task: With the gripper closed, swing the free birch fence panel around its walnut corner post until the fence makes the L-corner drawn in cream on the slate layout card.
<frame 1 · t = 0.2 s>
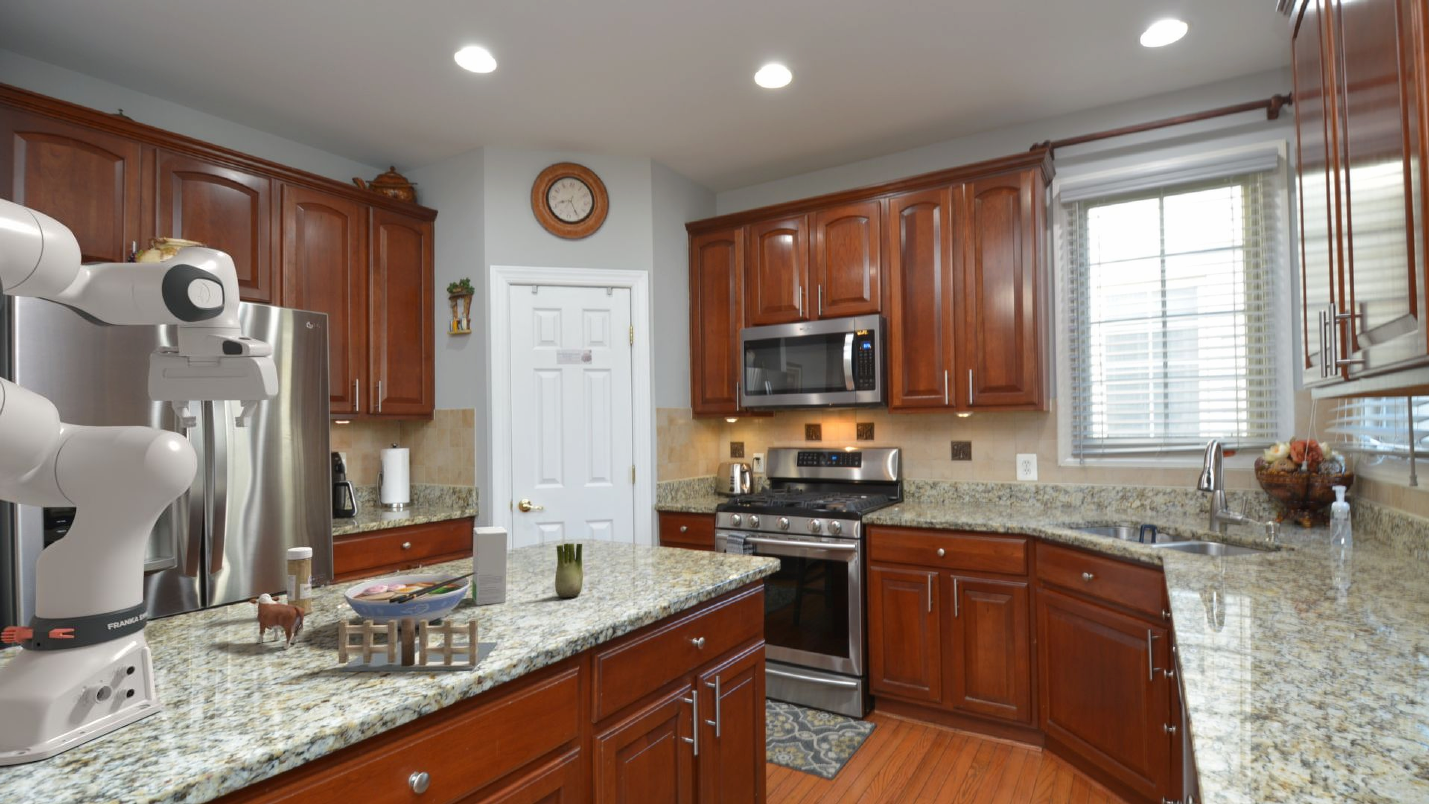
hand: (216, 427, 121), 39 cm above the worktop, tool pointing down, fingers open, 8 cm apart
ramen bowl: (409, 625, 137), on the worktop
spice jar: (299, 615, 145), on the worktop
bull figurine: (276, 644, 126), on the worktop
skincare box: (489, 600, 156), on the worktop
fennel bulb: (569, 597, 158), on the worktop
fixed fence panel: (448, 665, 114), resting on layout card
gate panel: (368, 641, 114), point 4 cm above the worktop, hinge at 0.0°
layout card: (422, 656, 118), on the worktop
corner post: (408, 666, 114), resting on layout card
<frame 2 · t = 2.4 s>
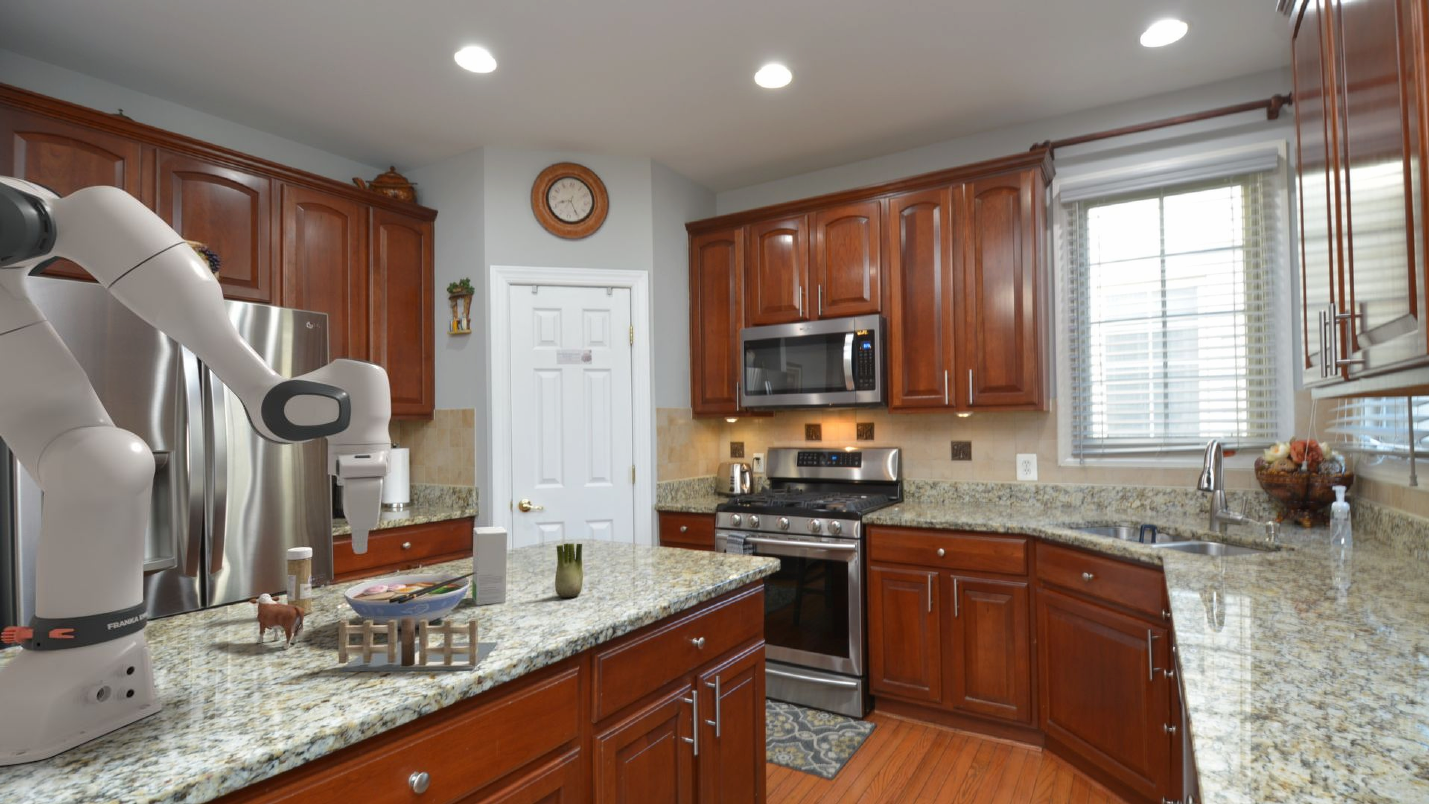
hand: (359, 551, 111), 19 cm above the worktop, tool pointing down, fingers closed
nothing on the worktop moved.
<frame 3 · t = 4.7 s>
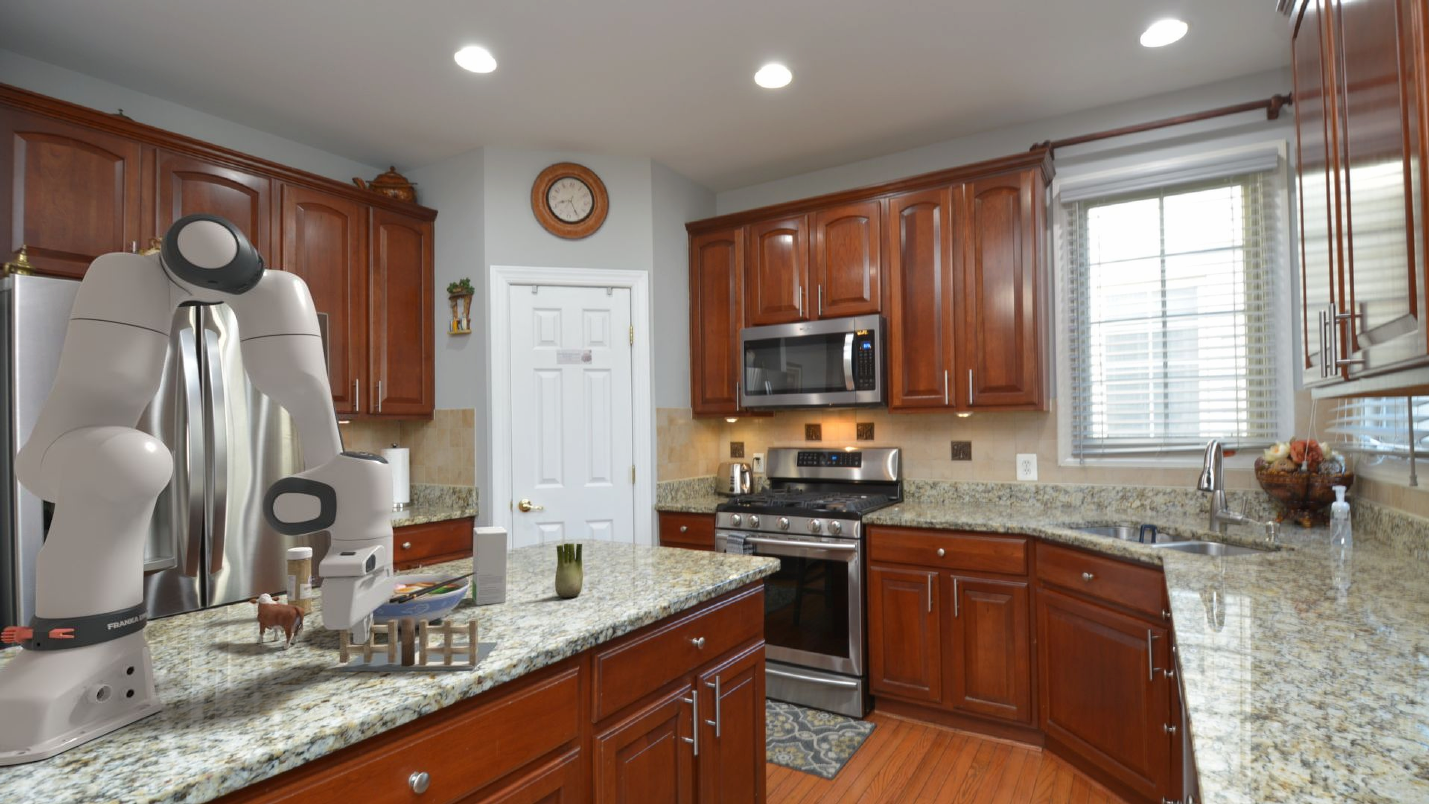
hand: (361, 642, 112), 5 cm above the worktop, tool pointing down, fingers closed
gate panel: (368, 641, 114), point 4 cm above the worktop, hinge at -1.8°, touching gripper
everything else where it was.
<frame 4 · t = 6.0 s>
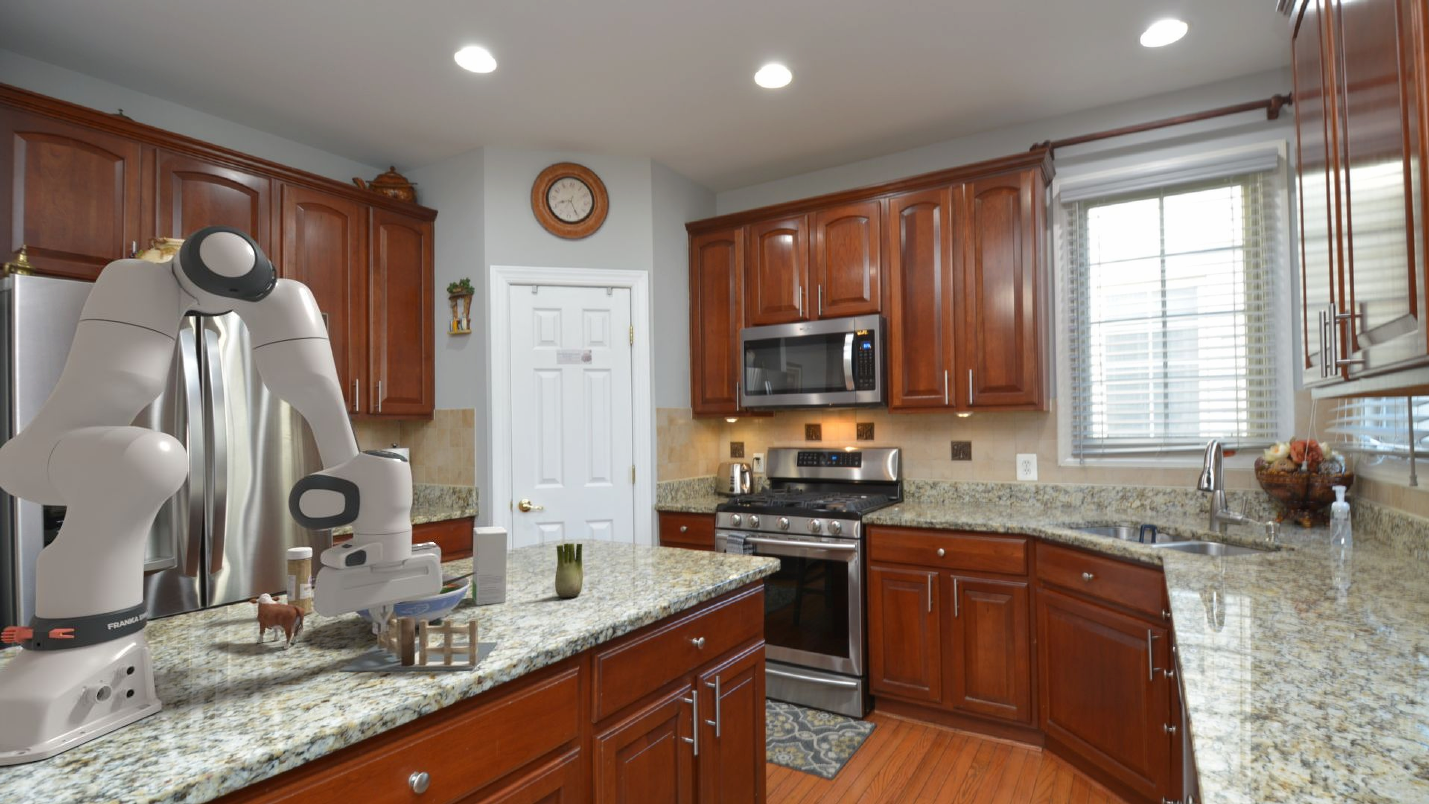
hand: (381, 632, 117), 4 cm above the worktop, tool pointing down, fingers closed, pressing on gate panel
gate panel: (391, 633, 118), point 4 cm above the worktop, hinge at -43.6°, touching gripper
everything else where it was.
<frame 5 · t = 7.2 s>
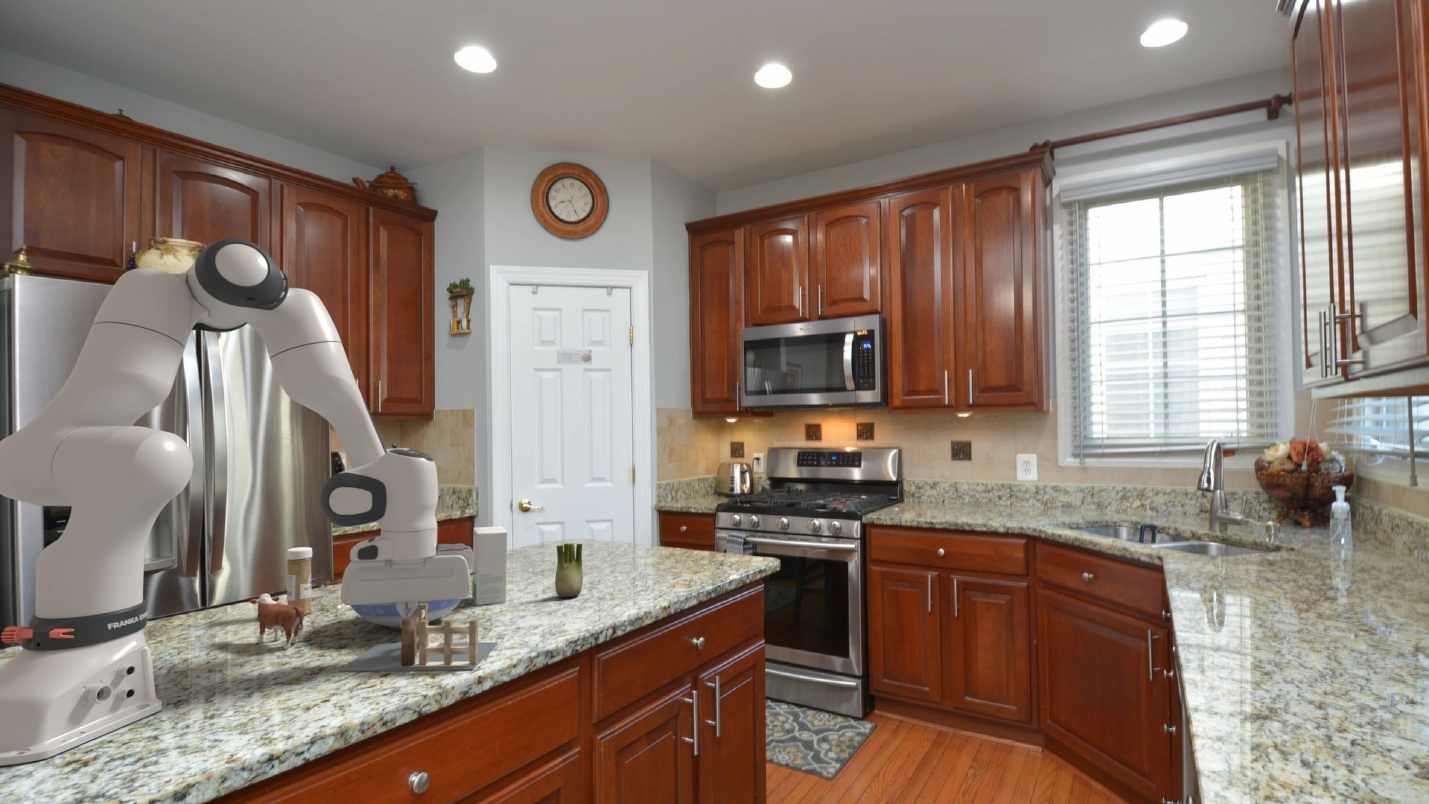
hand: (407, 627, 120), 4 cm above the worktop, tool pointing down, fingers closed, pressing on gate panel
gate panel: (417, 629, 120), point 4 cm above the worktop, hinge at -80.2°, touching gripper
everything else where it was.
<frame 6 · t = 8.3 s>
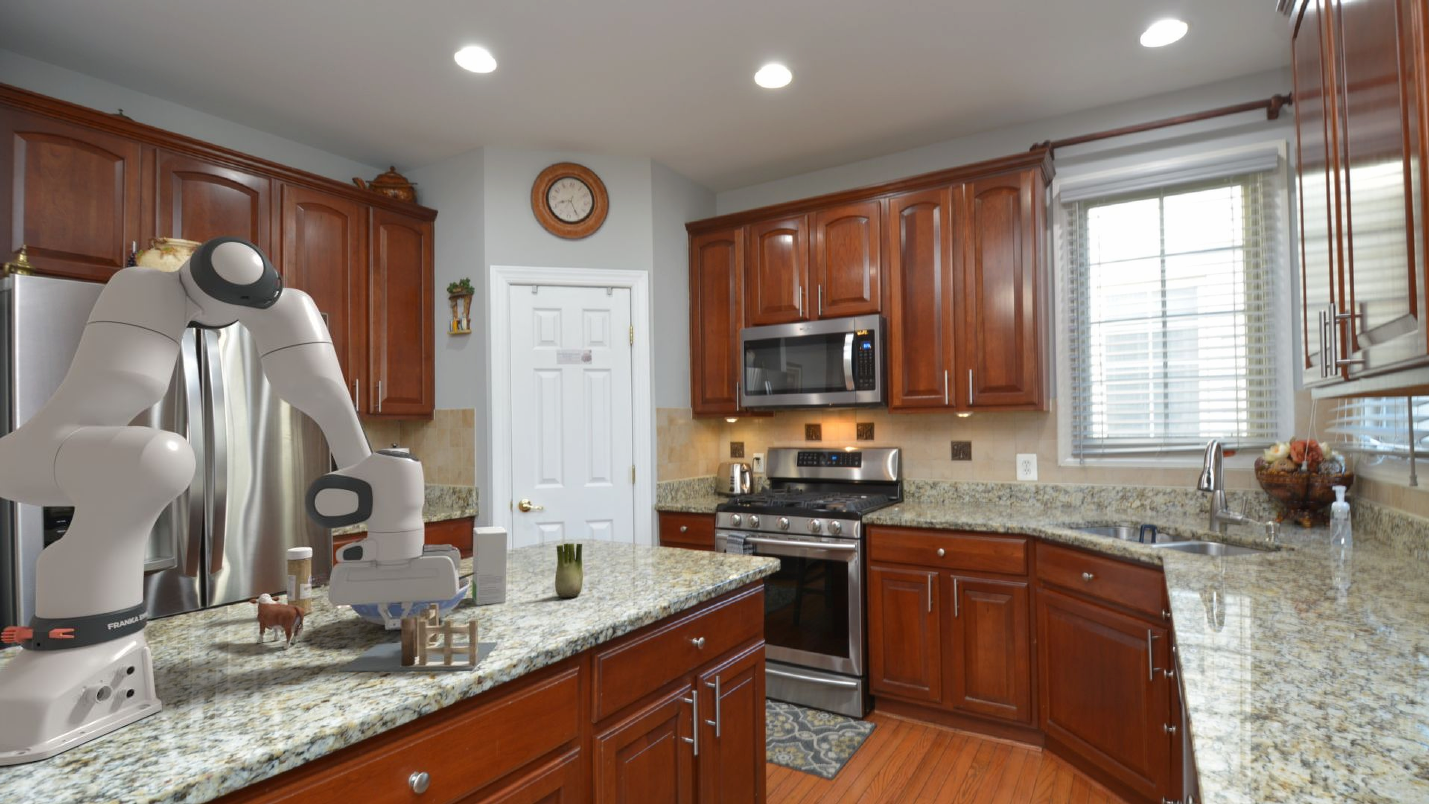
hand: (395, 628, 120), 4 cm above the worktop, tool pointing down, fingers closed
gate panel: (424, 629, 120), point 4 cm above the worktop, hinge at -90.8°
everything else where it was.
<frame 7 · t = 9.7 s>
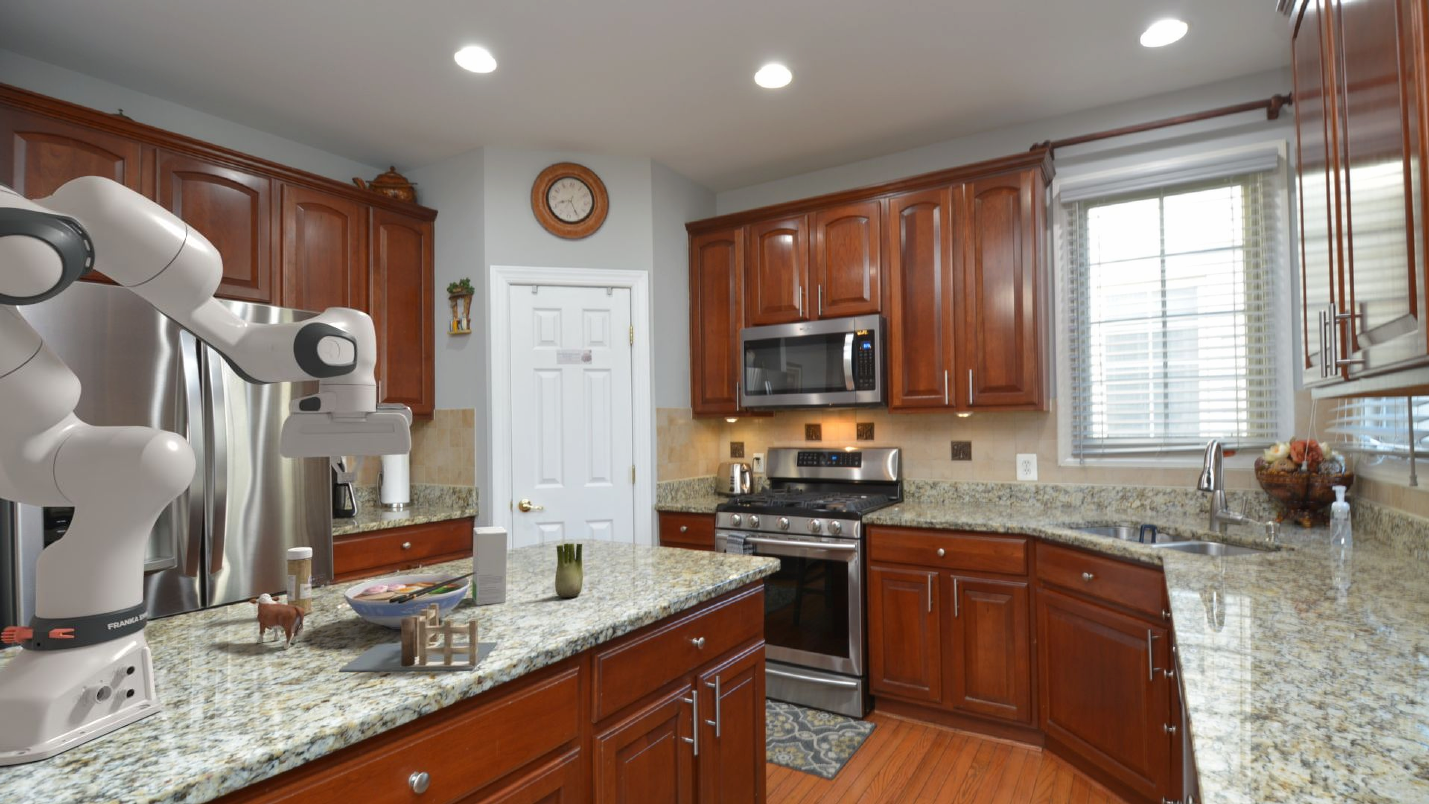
hand: (347, 482, 122), 29 cm above the worktop, tool pointing down, fingers closed
nothing on the worktop moved.
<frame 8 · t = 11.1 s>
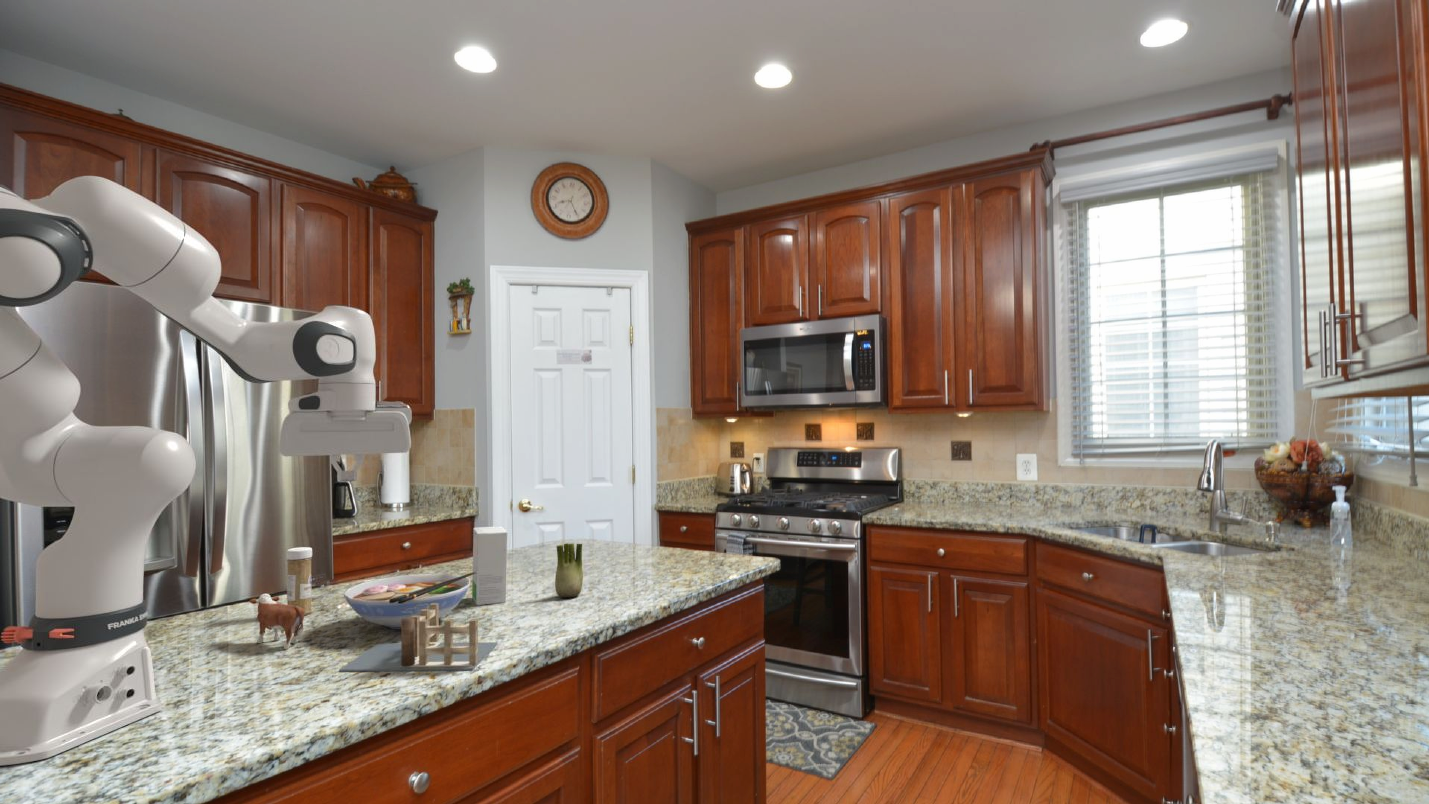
hand: (347, 481, 122), 29 cm above the worktop, tool pointing down, fingers closed
nothing on the worktop moved.
at the end: gate panel at -91° (first picture: +0°) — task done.
